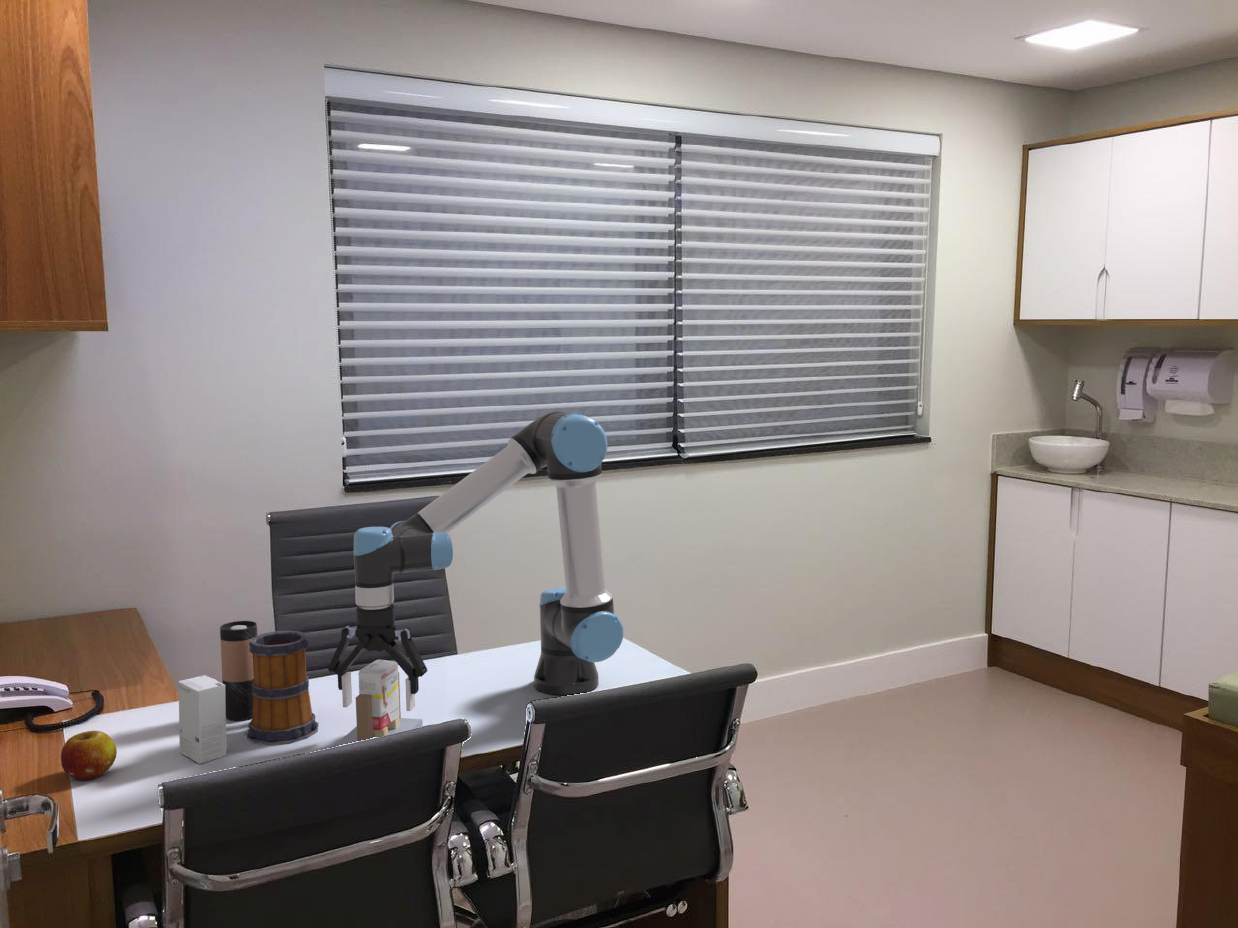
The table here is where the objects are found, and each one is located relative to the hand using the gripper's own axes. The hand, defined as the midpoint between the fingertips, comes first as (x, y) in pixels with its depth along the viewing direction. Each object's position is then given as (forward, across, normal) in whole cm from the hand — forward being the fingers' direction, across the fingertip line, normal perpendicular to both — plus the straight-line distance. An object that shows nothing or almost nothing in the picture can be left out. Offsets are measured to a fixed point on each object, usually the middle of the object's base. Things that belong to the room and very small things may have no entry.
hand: (379, 707), depth 207 cm
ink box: (+3, 0, 0) cm, 3 cm away
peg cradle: (+7, 0, 0) cm, 7 cm away
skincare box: (+7, +31, +13) cm, 34 cm away
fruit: (+7, +47, +25) cm, 54 cm away
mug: (+7, +22, -3) cm, 23 cm away
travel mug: (+7, +35, -8) cm, 37 cm away
